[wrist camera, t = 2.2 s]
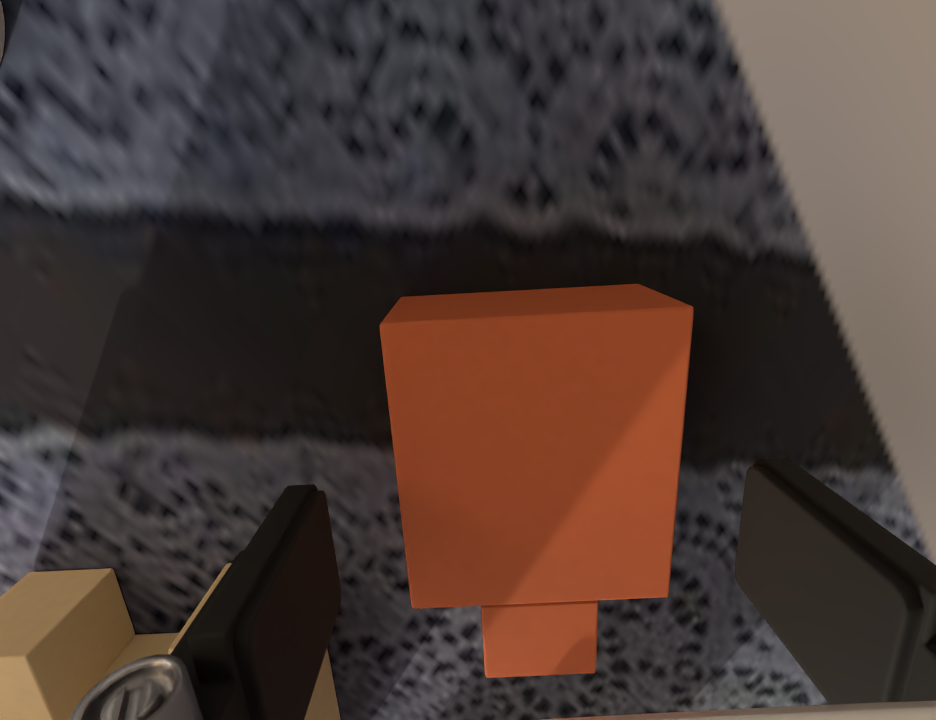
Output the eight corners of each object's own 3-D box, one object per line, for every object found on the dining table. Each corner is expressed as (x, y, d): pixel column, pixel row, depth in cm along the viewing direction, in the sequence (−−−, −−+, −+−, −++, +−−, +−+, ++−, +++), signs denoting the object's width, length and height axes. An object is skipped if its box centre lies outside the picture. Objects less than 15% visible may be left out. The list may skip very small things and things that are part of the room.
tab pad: (399, 296, 14) (378, 323, 10) (640, 283, 14) (696, 305, 10) (428, 589, 17) (419, 681, 14) (624, 580, 17) (663, 670, 14)
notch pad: (29, 571, 17) (-80, 661, 13) (311, 557, 17) (272, 645, 13) (109, 767, 20) (36, 881, 16) (348, 758, 20) (324, 870, 16)
